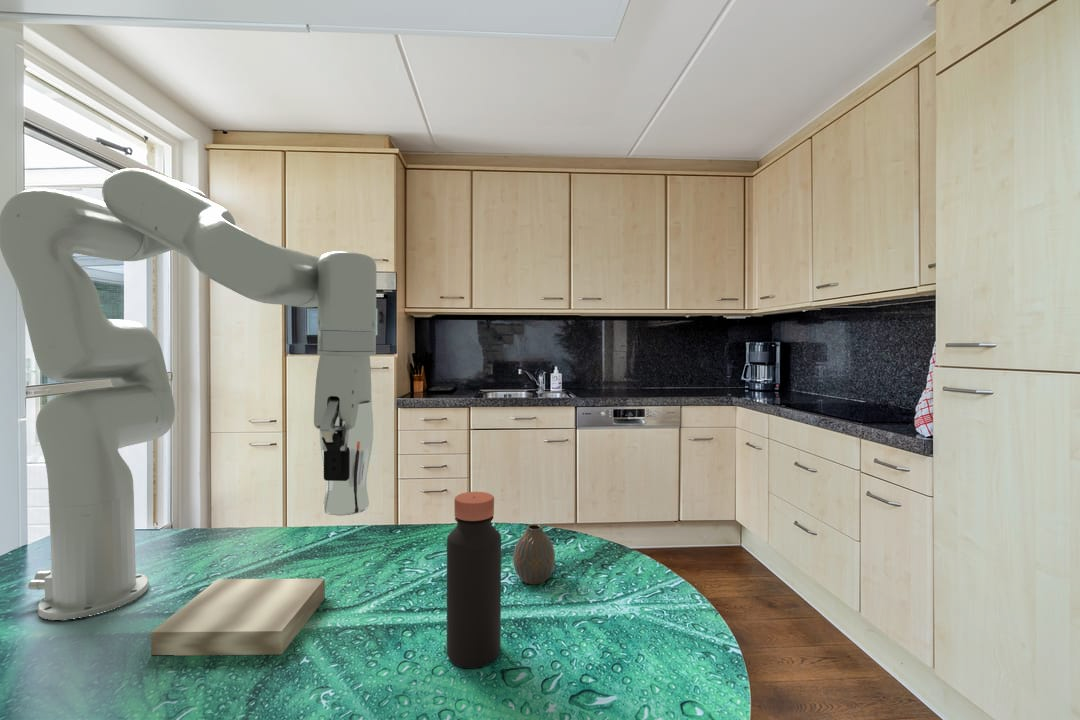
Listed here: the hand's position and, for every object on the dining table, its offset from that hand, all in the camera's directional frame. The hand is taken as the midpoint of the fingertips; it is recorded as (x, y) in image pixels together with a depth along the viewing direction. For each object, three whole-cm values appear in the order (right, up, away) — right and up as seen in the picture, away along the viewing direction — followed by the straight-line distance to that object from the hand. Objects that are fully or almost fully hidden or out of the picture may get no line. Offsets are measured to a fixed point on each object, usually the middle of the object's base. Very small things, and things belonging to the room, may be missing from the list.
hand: (346, 471), depth 72 cm
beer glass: (0, -5, 0) cm, 5 cm away
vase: (+26, -21, +14) cm, 36 cm away
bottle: (+19, -22, -6) cm, 29 cm away
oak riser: (-14, -21, 0) cm, 25 cm away
